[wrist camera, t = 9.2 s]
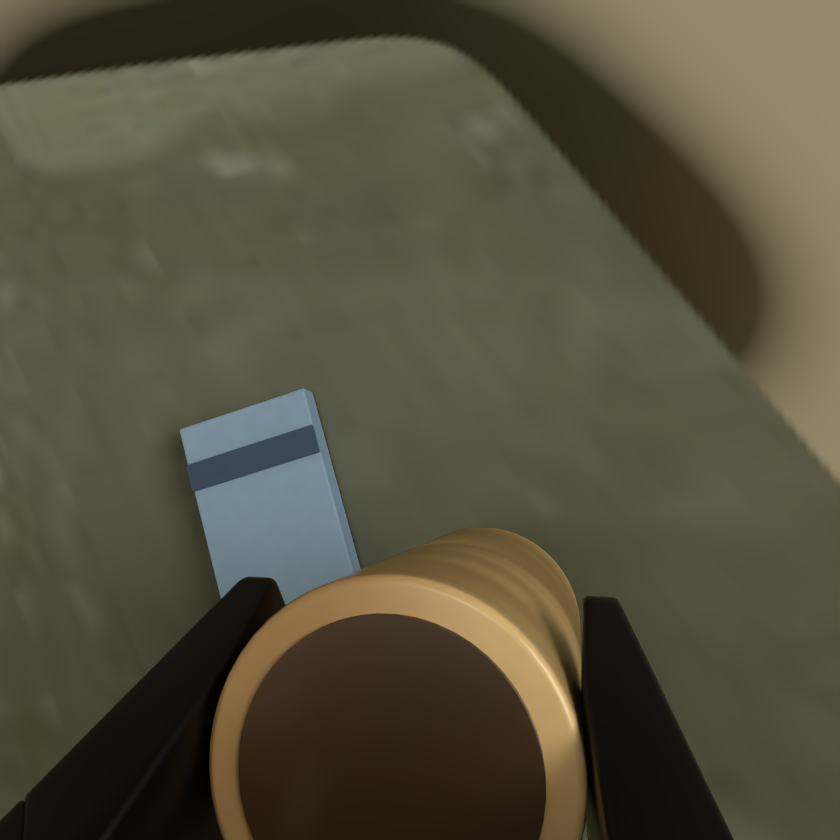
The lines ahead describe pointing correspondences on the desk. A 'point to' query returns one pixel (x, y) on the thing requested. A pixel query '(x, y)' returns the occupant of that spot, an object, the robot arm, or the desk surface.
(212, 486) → the light blue flat block
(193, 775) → the robot arm
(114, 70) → the desk surface
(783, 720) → the desk surface
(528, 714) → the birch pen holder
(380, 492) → the desk surface
